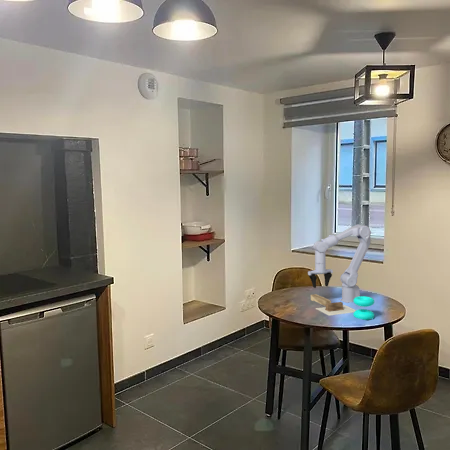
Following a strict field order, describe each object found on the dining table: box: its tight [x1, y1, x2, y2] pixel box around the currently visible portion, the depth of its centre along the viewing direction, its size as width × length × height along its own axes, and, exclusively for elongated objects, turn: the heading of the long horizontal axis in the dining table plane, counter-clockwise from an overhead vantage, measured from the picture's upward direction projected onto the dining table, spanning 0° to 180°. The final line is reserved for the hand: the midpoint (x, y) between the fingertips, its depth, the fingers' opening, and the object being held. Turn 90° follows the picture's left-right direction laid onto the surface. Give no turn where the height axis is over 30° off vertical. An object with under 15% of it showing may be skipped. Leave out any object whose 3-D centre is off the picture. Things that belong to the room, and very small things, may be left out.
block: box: [325, 301, 344, 312], centre depth 245 cm, size 9×4×4 cm, turn 108°
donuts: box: [352, 295, 375, 321], centre depth 231 cm, size 10×10×10 cm
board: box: [315, 304, 357, 316], centre depth 244 cm, size 18×14×1 cm
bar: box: [310, 293, 332, 307], centre depth 260 cm, size 4×16×4 cm, turn 19°
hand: (320, 286), depth 259 cm, fingers open, 7 cm apart
